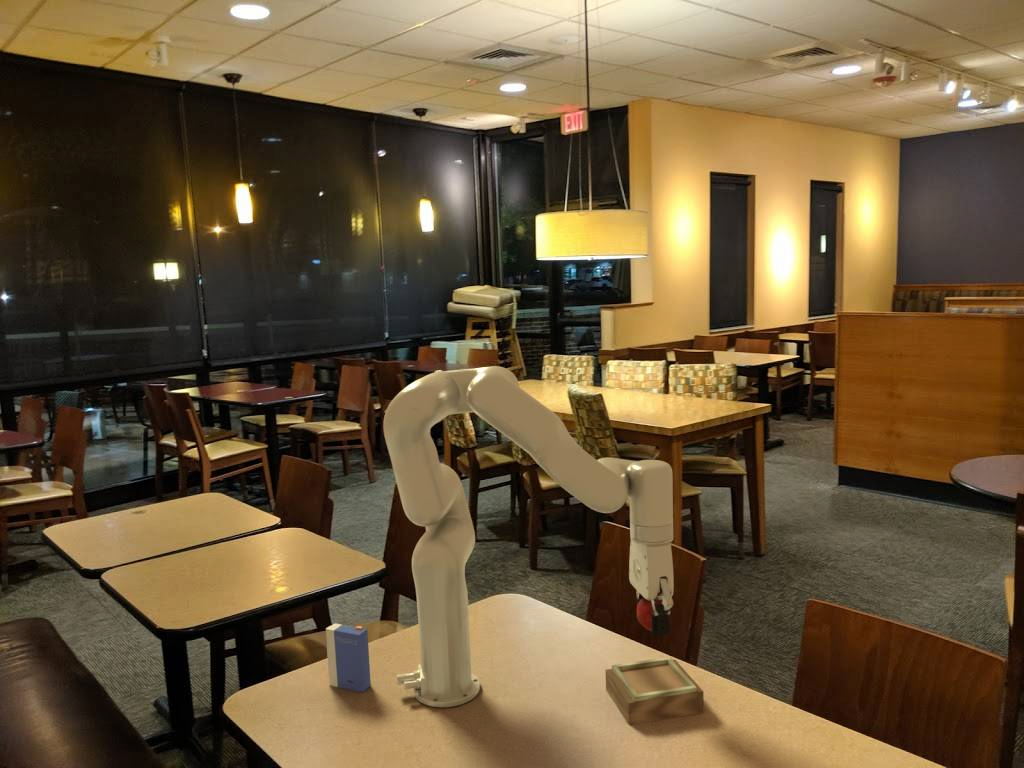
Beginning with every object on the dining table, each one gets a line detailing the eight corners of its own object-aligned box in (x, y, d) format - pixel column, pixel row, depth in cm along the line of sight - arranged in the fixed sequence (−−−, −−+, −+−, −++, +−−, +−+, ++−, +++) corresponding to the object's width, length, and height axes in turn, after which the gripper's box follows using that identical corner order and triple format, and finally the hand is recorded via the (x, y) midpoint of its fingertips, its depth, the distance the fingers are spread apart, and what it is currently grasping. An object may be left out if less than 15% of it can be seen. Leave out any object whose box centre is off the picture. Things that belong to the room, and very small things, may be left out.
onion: (645, 641, 139) (644, 598, 138) (631, 627, 144) (630, 585, 143) (675, 636, 140) (674, 593, 139) (660, 622, 146) (660, 581, 145)
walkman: (371, 685, 153) (367, 627, 151) (362, 692, 150) (359, 633, 149) (337, 678, 156) (333, 621, 154) (328, 685, 154) (324, 627, 152)
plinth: (628, 724, 137) (628, 698, 136) (605, 689, 149) (605, 665, 148) (703, 712, 140) (703, 687, 139) (675, 679, 151) (675, 655, 151)
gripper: (614, 518, 147) (616, 610, 150) (650, 549, 131) (652, 651, 133) (652, 514, 149) (653, 605, 151) (692, 543, 132) (693, 645, 135)
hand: (653, 626), depth 142 cm, fingers closed on onion, 5 cm apart
